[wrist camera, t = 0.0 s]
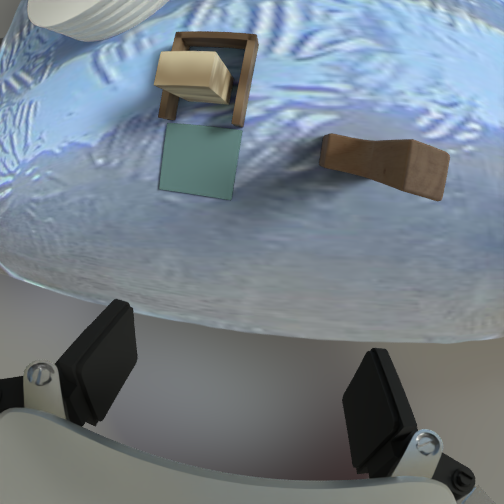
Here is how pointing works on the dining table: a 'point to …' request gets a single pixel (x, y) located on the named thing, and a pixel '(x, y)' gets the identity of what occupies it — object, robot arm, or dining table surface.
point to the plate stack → (91, 16)
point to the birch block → (194, 76)
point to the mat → (200, 160)
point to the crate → (226, 41)
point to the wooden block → (389, 163)
